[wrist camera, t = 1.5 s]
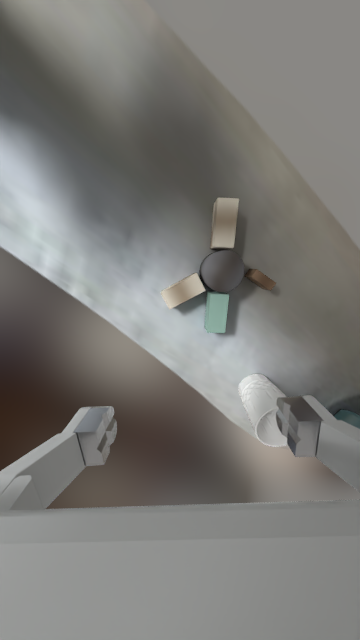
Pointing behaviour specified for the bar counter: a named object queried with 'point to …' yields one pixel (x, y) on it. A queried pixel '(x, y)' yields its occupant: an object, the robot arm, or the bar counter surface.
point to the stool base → (217, 261)
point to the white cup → (262, 408)
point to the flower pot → (348, 417)
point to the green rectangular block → (216, 312)
